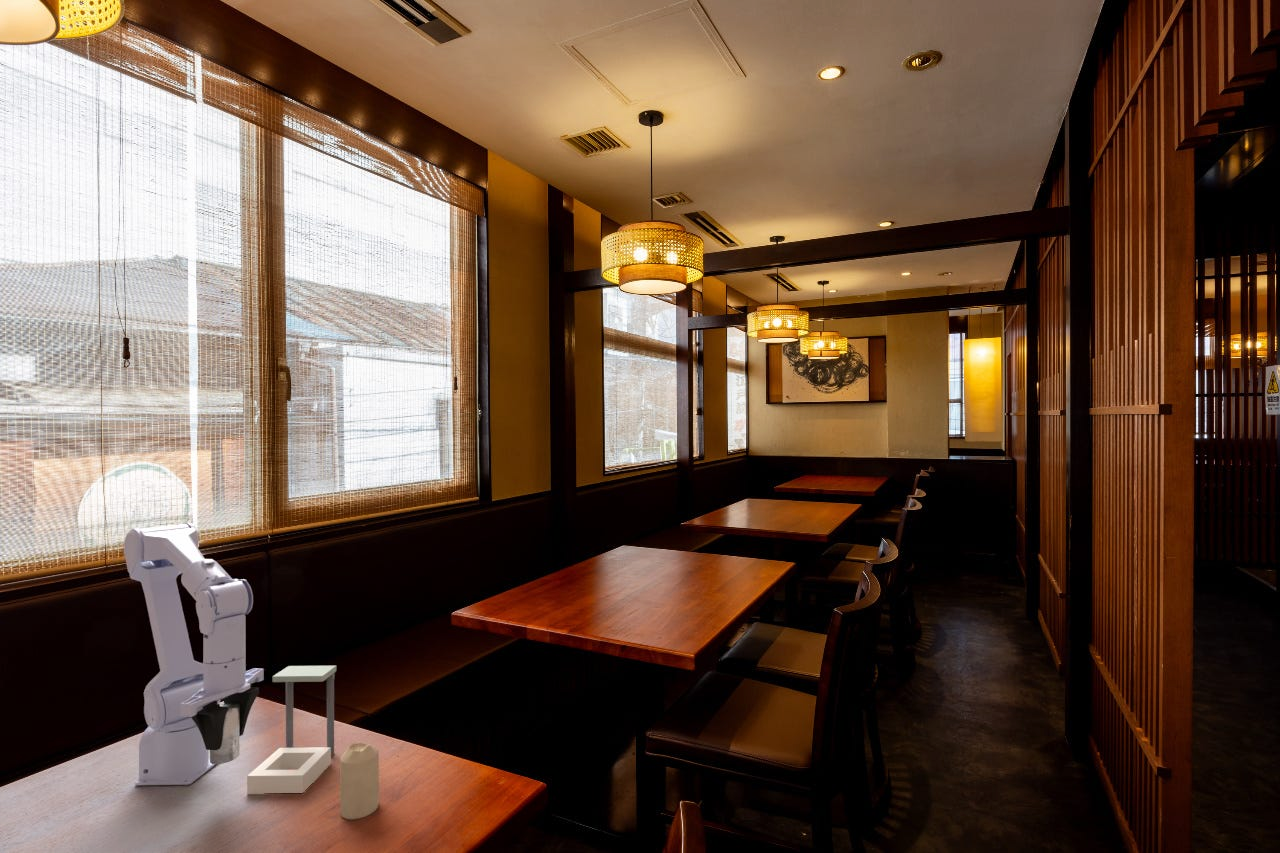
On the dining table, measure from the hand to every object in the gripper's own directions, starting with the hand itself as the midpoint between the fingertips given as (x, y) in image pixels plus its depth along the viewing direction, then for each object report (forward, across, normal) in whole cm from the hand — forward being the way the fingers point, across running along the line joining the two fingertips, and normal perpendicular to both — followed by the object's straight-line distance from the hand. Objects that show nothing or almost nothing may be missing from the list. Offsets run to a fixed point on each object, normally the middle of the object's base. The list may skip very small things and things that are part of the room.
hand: (224, 741), depth 101 cm
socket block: (+9, +7, -6) cm, 13 cm away
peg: (+2, 0, 0) cm, 2 cm away
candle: (+10, +1, -23) cm, 25 cm away
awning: (+9, +14, -4) cm, 17 cm away
